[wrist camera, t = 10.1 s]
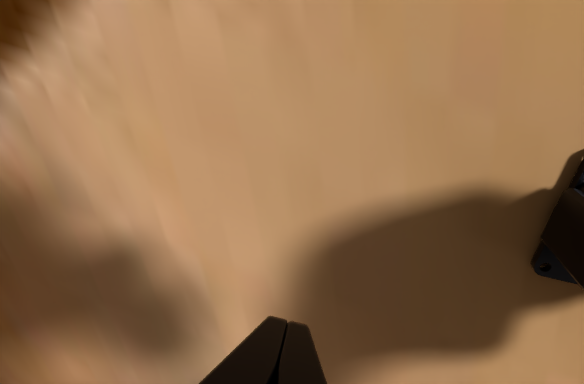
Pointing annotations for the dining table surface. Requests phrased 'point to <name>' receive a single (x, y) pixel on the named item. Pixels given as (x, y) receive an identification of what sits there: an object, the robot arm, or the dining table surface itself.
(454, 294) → the dining table surface
